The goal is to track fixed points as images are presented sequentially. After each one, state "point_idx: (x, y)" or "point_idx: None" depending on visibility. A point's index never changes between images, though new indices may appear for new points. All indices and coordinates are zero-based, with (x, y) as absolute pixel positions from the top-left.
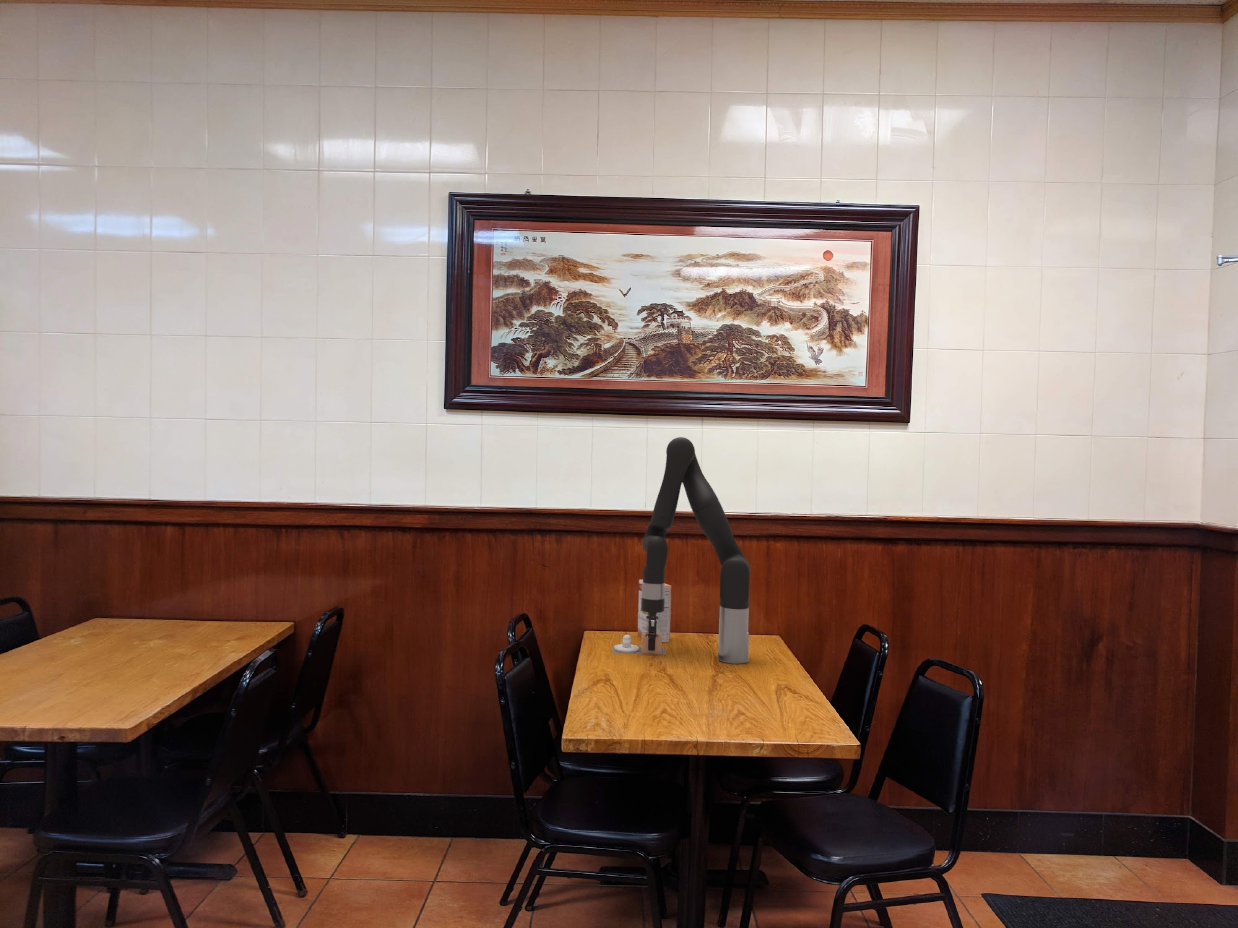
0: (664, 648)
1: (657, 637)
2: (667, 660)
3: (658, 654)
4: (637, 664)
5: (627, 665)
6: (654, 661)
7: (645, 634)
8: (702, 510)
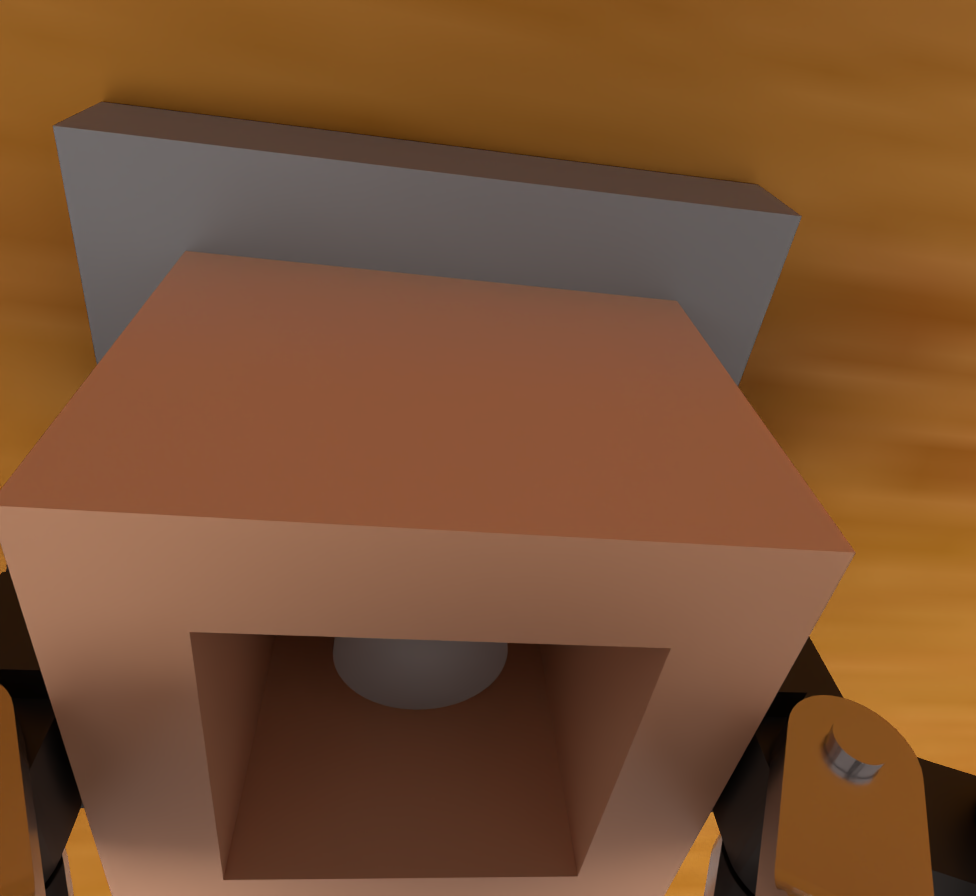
0: (108, 139)
1: (708, 663)
2: (830, 149)
3: (730, 370)
4: (920, 623)
5: (922, 709)
6: (835, 407)
7: (308, 878)
8: None
